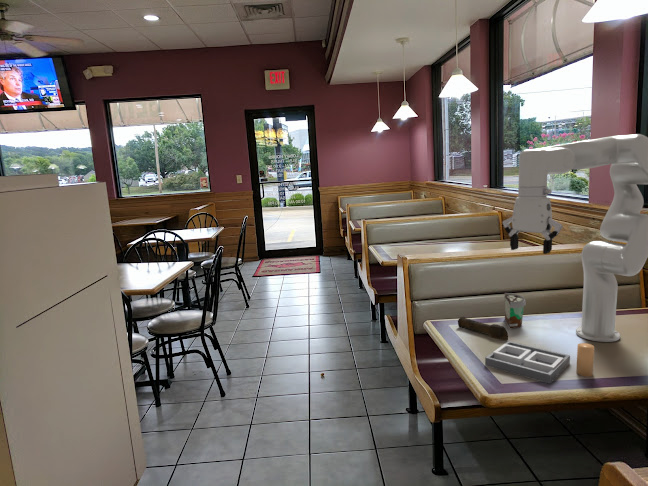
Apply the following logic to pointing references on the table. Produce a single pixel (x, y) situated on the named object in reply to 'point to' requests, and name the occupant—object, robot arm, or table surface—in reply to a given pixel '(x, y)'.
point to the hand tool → (484, 328)
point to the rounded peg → (585, 359)
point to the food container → (514, 309)
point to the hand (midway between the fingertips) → (530, 251)
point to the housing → (528, 361)
